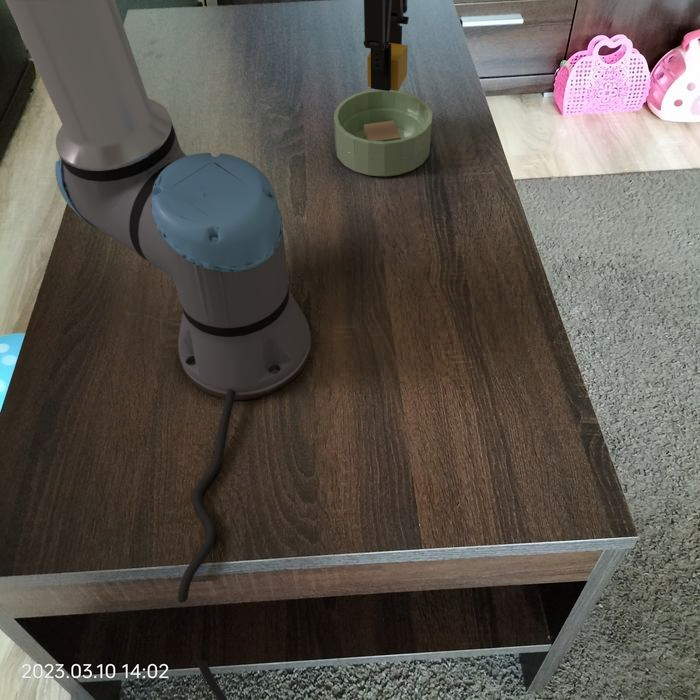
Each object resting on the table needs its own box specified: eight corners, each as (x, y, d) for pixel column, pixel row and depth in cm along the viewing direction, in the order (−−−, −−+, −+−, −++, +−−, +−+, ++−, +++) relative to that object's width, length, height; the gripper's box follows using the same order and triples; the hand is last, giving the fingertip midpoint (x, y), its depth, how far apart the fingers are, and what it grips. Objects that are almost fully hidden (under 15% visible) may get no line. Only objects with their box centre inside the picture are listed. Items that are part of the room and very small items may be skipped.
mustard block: (398, 91, 102) (398, 60, 99) (367, 86, 103) (367, 56, 100) (406, 75, 105) (407, 45, 101) (377, 71, 106) (376, 41, 102)
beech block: (400, 163, 107) (401, 137, 103) (370, 168, 106) (370, 141, 103) (393, 146, 110) (393, 120, 106) (363, 150, 109) (363, 124, 106)
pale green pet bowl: (425, 182, 104) (427, 146, 100) (328, 175, 106) (326, 139, 102) (433, 127, 114) (435, 91, 109) (343, 121, 115) (342, 86, 111)
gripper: (397, -73, 80) (393, 116, 98) (437, -127, 90) (427, 52, 108) (332, -79, 81) (341, 107, 99) (379, -132, 92) (379, 46, 110)
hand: (386, 78), depth 104 cm, fingers closed on mustard block, 4 cm apart
